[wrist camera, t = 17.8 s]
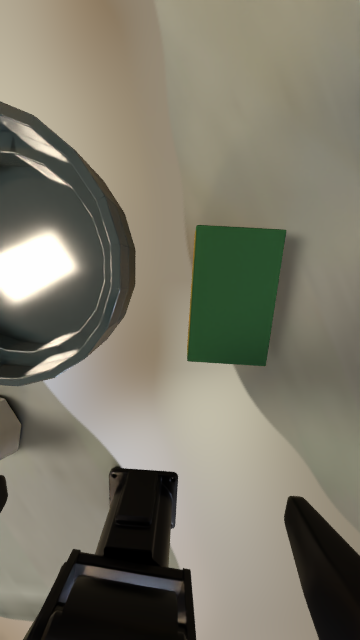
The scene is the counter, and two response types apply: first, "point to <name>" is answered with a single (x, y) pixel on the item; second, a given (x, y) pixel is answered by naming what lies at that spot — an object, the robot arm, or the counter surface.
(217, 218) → the counter surface
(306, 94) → the counter surface
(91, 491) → the counter surface
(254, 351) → the sponge
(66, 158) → the bowl
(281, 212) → the counter surface
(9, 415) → the flask
